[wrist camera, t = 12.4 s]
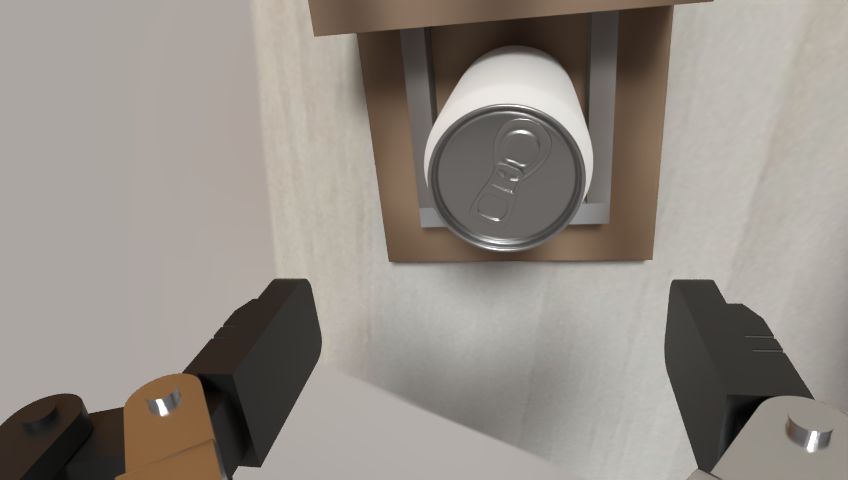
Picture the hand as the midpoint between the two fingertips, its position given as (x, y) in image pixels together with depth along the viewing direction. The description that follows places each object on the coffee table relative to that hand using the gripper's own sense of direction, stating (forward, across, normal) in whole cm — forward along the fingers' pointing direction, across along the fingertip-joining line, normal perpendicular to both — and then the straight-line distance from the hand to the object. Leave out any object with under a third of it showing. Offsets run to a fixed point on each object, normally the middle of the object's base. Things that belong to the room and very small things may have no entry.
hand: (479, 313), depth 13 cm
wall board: (+22, 0, +2) cm, 22 cm away
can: (+21, 0, 0) cm, 21 cm away
